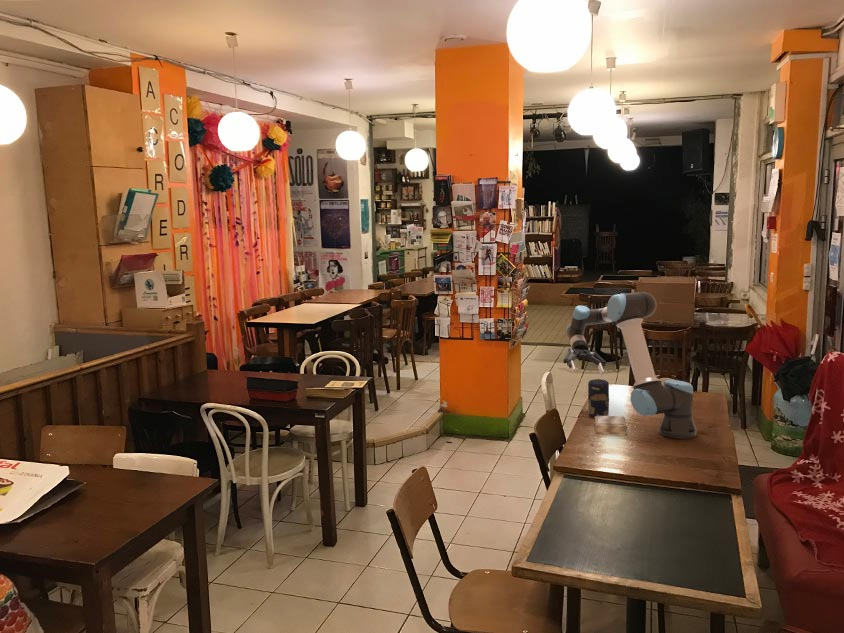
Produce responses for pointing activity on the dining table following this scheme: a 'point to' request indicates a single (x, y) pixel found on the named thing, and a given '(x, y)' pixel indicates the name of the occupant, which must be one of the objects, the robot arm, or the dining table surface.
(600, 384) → the canister
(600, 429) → the stand
